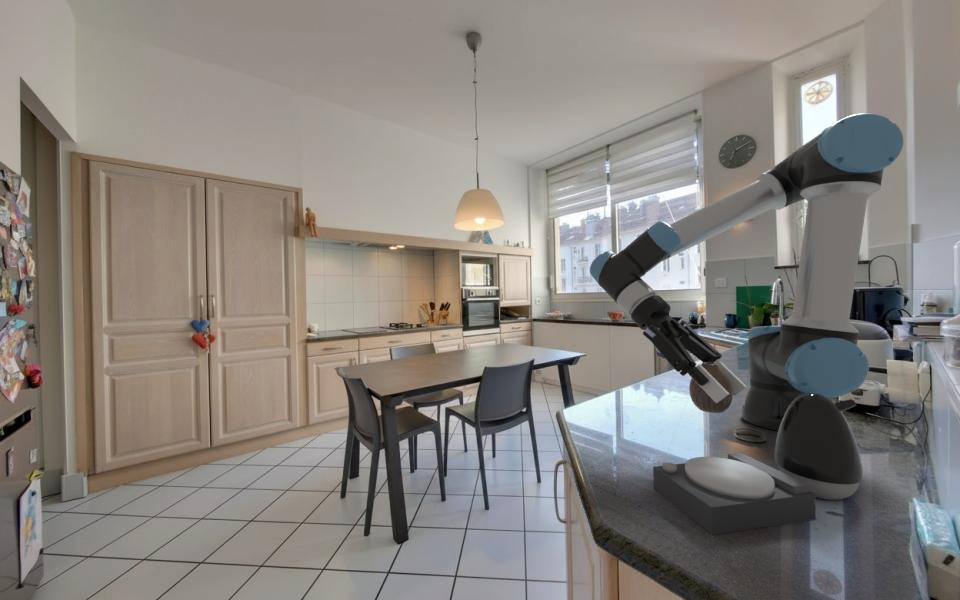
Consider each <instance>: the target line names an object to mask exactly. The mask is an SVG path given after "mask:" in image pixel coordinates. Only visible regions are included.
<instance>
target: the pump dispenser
mask: <svg viewBox="0 0 960 600" xmlns="http://www.w3.org/2000/svg"><path fill="white" fill-rule="evenodd" d="M856 406H857V403H856V401H855V400H854V399H846V400H841V401H837V402H834V401H833V400H832V399H830V397H825V396H823V395H820V394H816V393H806V394H802V395H800V396H798V397H796V398H795V399H794V400H793V401H792V403H791V404H790V405H789V407H788V409H787V410H786V412H785V414H784V416H783V419H782V421H781V424H780V427H779V430H778V431H777V434H776V438H775V439H776V440H775V446H774V454H773V455H774V462H775V464H776V465H777V467H778V471H781V472H783V473H785V474H787V475H789V476H791V477H793V478H796V479H798V480H800V481H802V482H804V483H806V484H808V485H809V491H810V492H812V493H814V494H815V498H817V499H822V500H829V501H830V500H843V499H847V498H849V497H851V496H852V495H853V494H854V493H856V492H857V490H858V489H859V486H860V483H861V482H863V480H864V468H863V462H862V458H861V454H860V453H861V452H860V449H859V447H858V444H857V441H856V438H855V435H854V433H853V430H852V428H851V426H850V424H849V422H848V420H847V418H846V416H845V415H844V414H843V412H844V411H846V410H849V409H851V408H854V407H856Z"/></svg>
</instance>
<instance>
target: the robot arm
mask: <svg viewBox="0 0 960 600" xmlns="http://www.w3.org/2000/svg"><path fill="white" fill-rule="evenodd" d="M903 147H904V135H903V132H902V130H901V129H900V127H899V126H898V125H897V124H896V123H895V122H892V121H891V120H890V119H889V118H888V117H885V116H884V115H880V114H877V113H870V112H869V113H866V112H865V113H857V114H856V113H855V114H851V115H849V116H846V117H844V118H841V119H840V120H838V121H836V122H834V123H832V124H830V125H828V126H827V127H825V128H824V129H823V130H822V131H821V133H819V134H818V135H817V136H815V137H813V138H812V139H810V140H809V141H807V142H806V143H805V144H803V145H801V146H800V147H799V148H797V149H796V150H795V151H794V152H792V153H791V154H789V155H788V156H787V157H785V158H784V159H783V160H782V161H780V162H779V163H778V164H776V165H774V166H773V167H772V168H770V169H768V170H766V171H764V172H762V173H760V174H759V175H758V176H757V178H756V180H755V181H754V182H752V183H750V184H748V185H746V186H744V187H742V188H740V189H737V190H736V191H734V192H732V193H730V194H728V195H726V196H724V197H722V198H720V199H718V200H716V201H714V202H712V203H710V204H708V205H706V206H704V207H702V208H701V209H698V210H696V211H694V212H692V213H690V214H688V215H686V216H685V217H683V218H680V219H679V220H677V221H675V222H673V223H671V224H669V223H667V222H665V221H661V220H660V221H656V222H655V223H654V224H652V225H651V226H650V227H647V228H646V230H645V231H643V232H642V233H641V234H640V235H639V236H637V237H636V238H635V239H634V240H633V241H632V242H631V243H630V244H629V245H627V246H626V247H624V248H623V249H622V250H621V251H619V252H618V253H617V252H616V253H615V252H614V251H611V250H608V251H604V252H603V253H599V254H598V255H597V256H595V258H594V259H593V260H592V262H591V264H590V266H589V273H590V276H591V277H592V278H593V279H594V280H595V282H596V283H597V284H598V285H599V287H601V288H602V290H603V291H604V292H605V293H607V294H608V296H609V297H610V298H611V299H612V301H614V302H615V303H616V304H617V305H618V306H619V307H620V308H621V310H622V312H624V313H625V314H626V315H627V316H629V317H630V318H631V320H632V322H634V323H635V324H636V326H637V327H638V328H639V329H640V330H642V331H643V332H642V335H643V336H644V337H645V338H647V340H649V342H651V343H652V344H653V345H654V347H655V348H656V349H657V350H658V351H659V352H660V353H661V355H662V356H663V357H664V359H666V361H667V362H668V364H670V366H671V367H672V368H673V369H674V370H675V371H676V372H677V373H679V374H680V375H681V376H683V377H684V376H686V375H689V376H690V377H691V379H692V378H693V379H694V381H695V382H696V383H697V384H698V385H699V386H700V387H701V388H702V389H703V390H704V391H705V392H706V393H707V394H708V395H709V396H710V397H711V398H712V399H713V401H714V402H715V403H718V402H719V401H721V400H722V399H723V398H725V397H726V396H727V395H729V393H728V392H727V391H726V390H725V389H724V388H723V387H722V386H721V384H720V383H719V382H718V381H717V380H716V379H715V378H714V377H713V376H712V375H711V374H710V373H709V372H708V371H707V370H706V369H705V368H704V367H703V366H702V365H701V364H702V363H716V364H717V366H718V368H719V369H720V370H721V371H722V373H723V374H724V375H725V376H726V377H727V378H728V380H729V382H730V384H731V387H732V392H733V396H737V395H738V394H740V393H741V392H742V391H744V390H745V389H746V388H747V387H748V386H747V385H746V384H745V383H744V382H743V381H742V380H741V379H740V377H737V375H736V374H734V372H732V370H730V369H729V367H727V366H726V364H724V363H723V362H722V361H721V360H720V359H721V358H722V357H723V355H722V354H721V353H720V352H719V351H718V350H717V349H716V348H714V347H713V346H712V345H711V344H710V343H709V342H708V341H707V340H705V338H703V337H702V335H700V334H699V333H697V332H696V331H695V330H694V329H693V328H692V327H691V326H690V325H689V323H688V321H687V322H686V321H685V320H683V319H682V320H681V321H680V322H679V321H677V319H675V318H673V317H671V316H670V311H671V306H670V304H669V303H668V302H667V301H665V299H663V298H662V296H660V295H658V293H657V291H656V290H654V289H653V288H652V287H651V286H650V285H649V284H648V283H647V282H646V281H644V280H643V279H642V277H643V276H645V275H646V274H647V273H648V272H650V271H651V270H652V269H653V268H655V267H656V266H658V265H659V264H661V262H664V261H666V260H668V259H670V258H672V257H674V256H676V255H678V254H680V253H683V252H684V251H686V250H688V249H690V248H693V247H695V246H697V245H698V244H701V243H703V242H705V241H708V240H709V239H712V238H714V237H716V236H717V235H720V234H721V233H723V232H726V231H728V230H730V229H732V228H734V227H737V226H738V225H741V224H742V223H745V222H747V221H749V220H751V219H754V218H755V217H758V216H759V215H761V214H764V213H766V212H768V211H770V210H772V209H773V210H776V211H777V210H779V211H780V210H781V209H784V208H787V207H788V206H791V205H793V204H795V203H798V202H800V201H804V200H806V201H807V209H806V213H805V214H806V215H805V222H804V228H803V235H802V243H801V250H800V258H799V262H798V263H799V264H798V270H797V271H798V272H797V278H796V285H795V292H794V293H795V294H794V300H793V307H792V313H791V315H790V316H789V317H788V318H787V319H784V320H783V321H781V325H765V326H761V325H760V326H754V327H751V328H750V329H749V331H748V339H747V343H748V368H749V370H748V371H749V388H748V392H747V394H746V398H745V400H744V404H743V405H742V408H741V416H742V417H741V418H742V419H743V420H744V421H745V422H747V423H749V424H751V425H754V426H757V427H761V428H762V429H763V428H764V429H768V430H774V431H777V432H778V430H779V427H780V424H781V421H782V419H783V416H784V414H785V412H786V410H787V409H788V407H789V405H790V404H791V403H792V401H793V400H794V399H795V398H796V397H798V396H800V395H802V394H806V393H816V394H820V395H823V396H825V397H827V398H838V397H840V398H841V397H843V396H846V395H848V394H850V393H852V392H854V391H856V390H857V389H859V388H860V387H861V386H862V385H863V384H864V383H865V382H866V380H867V378H868V375H869V372H870V371H869V370H870V363H869V360H868V357H867V356H866V354H865V353H864V352H863V351H862V349H861V348H860V347H859V346H858V340H859V334H860V333H859V332H860V331H859V330H858V329H857V328H856V327H855V326H854V325H853V324H851V322H850V318H851V311H852V304H853V297H854V296H853V295H854V291H855V284H856V277H857V270H858V264H859V257H860V251H861V244H862V237H863V232H864V231H863V229H864V225H865V224H864V223H865V216H866V209H867V203H868V199H869V198H870V197H871V196H873V195H875V194H876V193H878V192H879V191H880V190H881V187H882V181H883V174H884V170H885V168H887V167H889V166H891V165H892V163H894V161H896V160H897V158H898V157H899V156H900V154H901V153H902V150H903ZM690 354H691V355H693V356H694V357H695V358H697V359H698V360H699V361H701V363H700V364H697V362H696V361H695V360H694V359H693V357H692V356H691V355H690Z"/></svg>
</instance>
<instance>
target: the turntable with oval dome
mask: <svg viewBox="0 0 960 600" xmlns="http://www.w3.org/2000/svg"><path fill="white" fill-rule="evenodd" d="M652 468H653V469H652V470H653V471H652V473H653V474H652V475H653V476H652V477H653V489H654V490H655V491H657V492H658V493H659V494H660V495H661V496H663V497H664V498H665V499H667V501H669V502H670V503H671V504H673V505H674V506H675V507H677V508H678V509H679V510H680V511H682V512H683V513H684V514H686V515H687V516H688V517H689V518H691V519H692V520H693V521H694V522H696V523H697V524H698V525H699V526H701V527H702V528H703V529H705V530H706V531H707V532H708V533H709V534H711V535H712V536H714V535H718V534H719V535H721V534H726V533H733V532H740V531H746V530H754V529H760V528H767V527H774V526H775V527H776V526H780V525H787V524H794V523H801V522H808V521H815V520H816V519H817V514H816V513H817V510H816V509H817V508H816V497H815V494H814V493H812V492H810V491H809V485H808V484H806V483H804V482H802V481H800V480H798V479H796V478H793V477H791V476H789V475H787V474H785V473H783V472H781V471H780V470H779V469H776V468H775V467H772V466H770V465H768V464H765V463H763V462H761V461H759V460H757V459H755V458H753V457H751V456H748V455H746V454H743V452H737V453H736V452H735V453H728V454H727V458H726V457H725V458H724V457H718V456H699V457H697V456H696V457H693V458H689V459H688V460H687V461H686V462H684V463H677V464H676V463H672V462H663V463H662V465H658V466H653V467H652Z"/></svg>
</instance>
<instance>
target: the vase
mask: <svg viewBox="0 0 960 600" xmlns="http://www.w3.org/2000/svg"><path fill="white" fill-rule="evenodd" d="M700 364H701V365H702V366H703V367H704V368H705V369H706V370H707V371H708V372H709V373H710V374H711V375H712V376H713V377H714V378H715V379H716V380H717V381H718V382H719V383H720V384H721V386H722V387H723V388H724V389H725V390H726V391H727V392H728V393H729V395H727V396H726V397H725V398H723V399H722V400H721V401H719V402H718V403H715V402H714V401H713V399H712V398H711V397H710V396H709V395H708V394H707V393H706V392H705V391H704V390H703V389H702V388H701V387H700V386H699V385H698V384H697V383H696V382H695V381H694V379H693V378H692V377H691V379H690V382H689V387H688V388H689V389H688V390H689V396H690V399H691V401H692V403H693V405H695V407H696V408H697V409H698V410H700V411H702V412H705V413H712V414H713V413H714V414H720V413H724V412H725V411H727V410H728V409H729V407H730V406H731V404H732V401H733V398H734V397H733V396H734V395H733V392H732V387H731V384H730V382H729V380H728V378H727V377H726V376H725V375H724V374H723V373H722V371H721V370H720V369H719V368H718V366H717V364H716V363H703V362H701V363H700Z"/></svg>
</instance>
